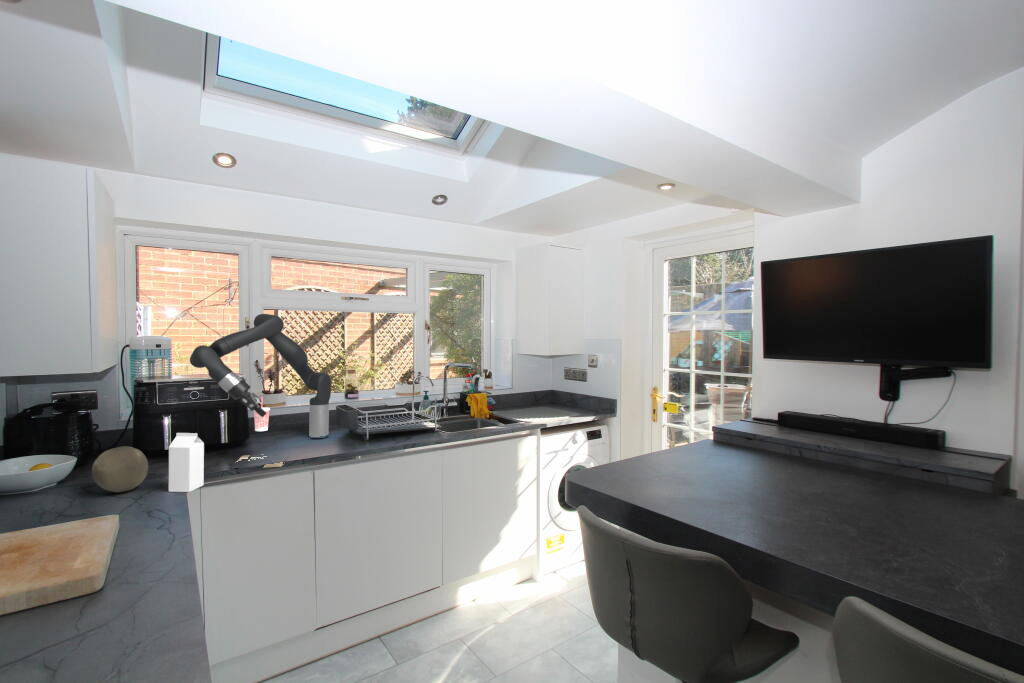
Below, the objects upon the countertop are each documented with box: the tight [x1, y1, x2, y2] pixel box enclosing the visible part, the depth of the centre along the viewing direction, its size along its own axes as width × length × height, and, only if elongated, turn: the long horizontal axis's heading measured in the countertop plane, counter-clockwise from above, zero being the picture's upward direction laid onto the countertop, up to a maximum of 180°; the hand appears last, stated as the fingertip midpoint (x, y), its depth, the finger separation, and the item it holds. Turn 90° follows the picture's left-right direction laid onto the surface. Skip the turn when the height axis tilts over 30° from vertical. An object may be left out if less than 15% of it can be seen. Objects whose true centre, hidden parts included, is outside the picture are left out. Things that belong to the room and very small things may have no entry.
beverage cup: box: [253, 395, 271, 432], centre depth 195 cm, size 6×6×14 cm
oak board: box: [236, 454, 284, 468], centre depth 196 cm, size 18×18×1 cm
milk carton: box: [168, 432, 205, 493], centre depth 161 cm, size 7×7×19 cm
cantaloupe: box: [91, 445, 149, 493], centre depth 156 cm, size 14×14×15 cm
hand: (266, 413), depth 196 cm, fingers closed on beverage cup, 6 cm apart
